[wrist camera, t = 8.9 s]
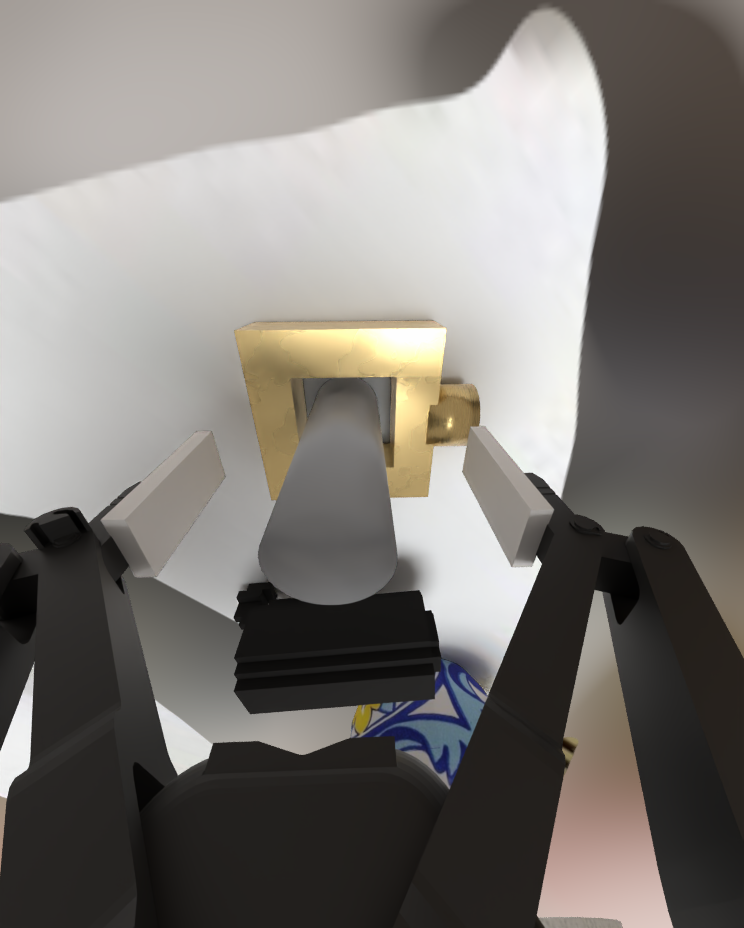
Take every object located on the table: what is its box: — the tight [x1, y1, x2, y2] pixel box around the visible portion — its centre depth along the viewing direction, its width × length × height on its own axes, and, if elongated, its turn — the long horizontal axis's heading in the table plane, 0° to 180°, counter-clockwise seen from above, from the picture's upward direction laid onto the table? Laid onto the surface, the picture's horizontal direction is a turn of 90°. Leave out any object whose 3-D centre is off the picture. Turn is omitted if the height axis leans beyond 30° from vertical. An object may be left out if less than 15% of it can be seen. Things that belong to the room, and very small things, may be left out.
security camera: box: [234, 582, 441, 714], centre depth 27 cm, size 7×18×10 cm, turn 96°
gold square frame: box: [234, 320, 480, 500], centre depth 20 cm, size 14×11×4 cm
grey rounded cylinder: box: [258, 377, 398, 605], centre depth 16 cm, size 4×4×14 cm
